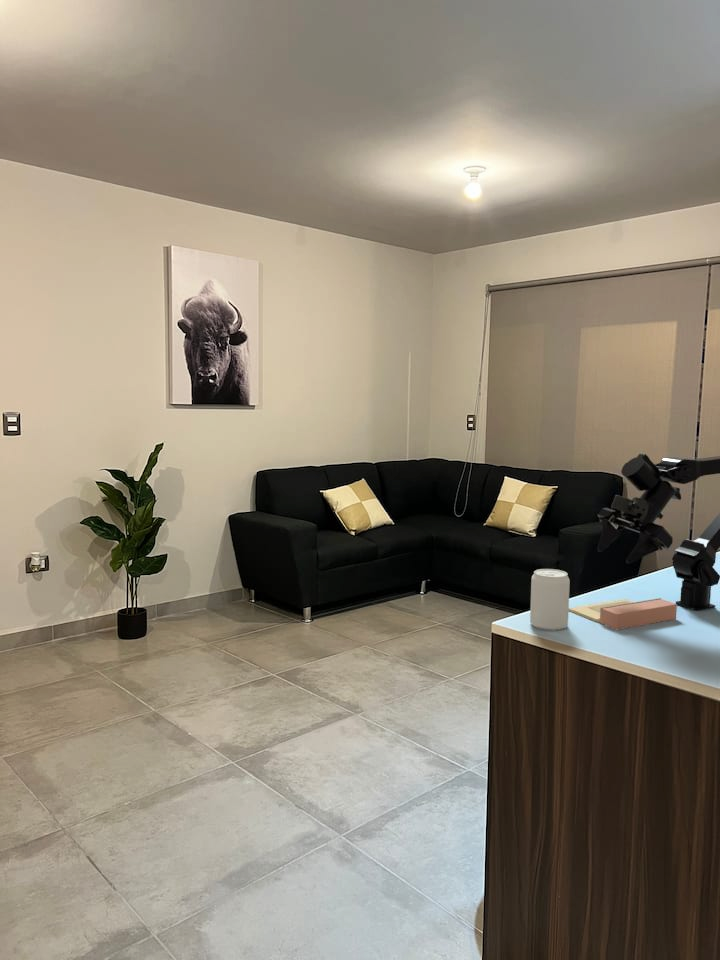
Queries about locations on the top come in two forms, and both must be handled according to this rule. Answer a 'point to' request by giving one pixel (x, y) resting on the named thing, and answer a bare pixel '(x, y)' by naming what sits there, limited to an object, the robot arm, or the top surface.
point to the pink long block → (638, 613)
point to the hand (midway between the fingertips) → (612, 556)
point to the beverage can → (549, 599)
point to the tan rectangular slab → (596, 609)
